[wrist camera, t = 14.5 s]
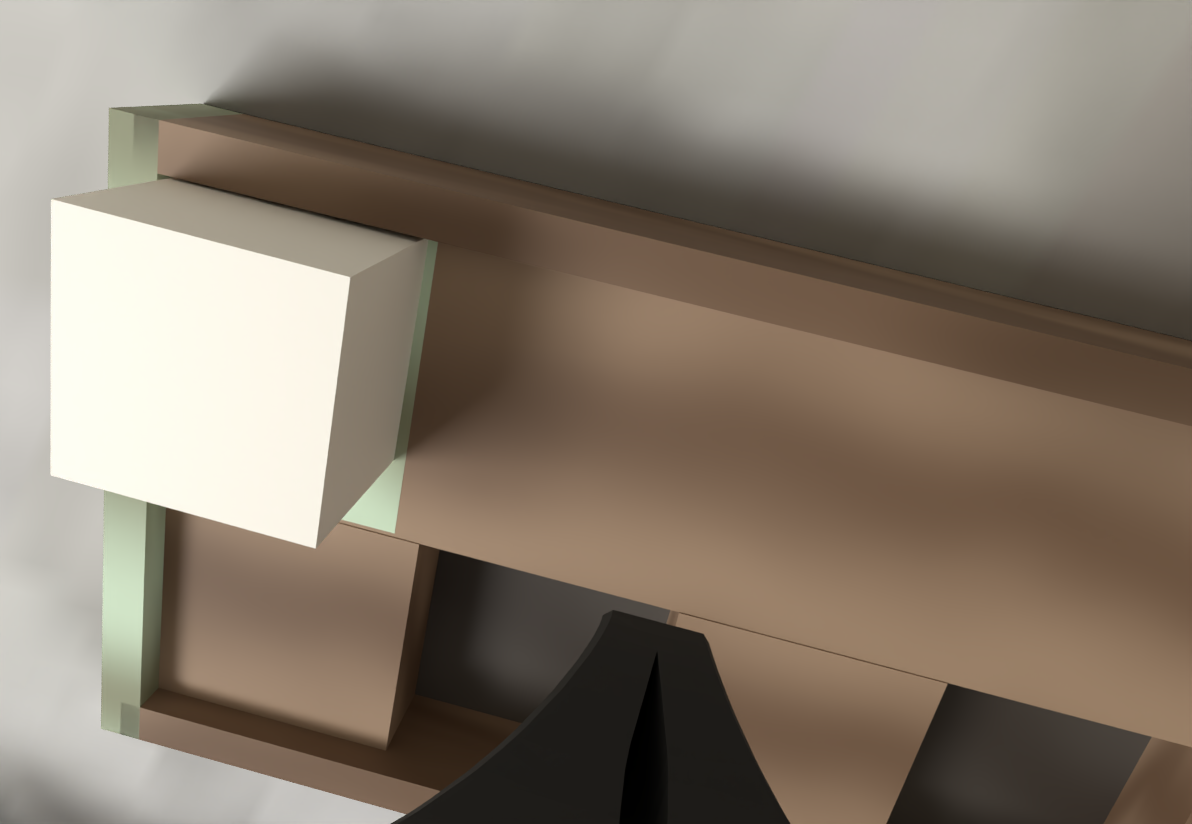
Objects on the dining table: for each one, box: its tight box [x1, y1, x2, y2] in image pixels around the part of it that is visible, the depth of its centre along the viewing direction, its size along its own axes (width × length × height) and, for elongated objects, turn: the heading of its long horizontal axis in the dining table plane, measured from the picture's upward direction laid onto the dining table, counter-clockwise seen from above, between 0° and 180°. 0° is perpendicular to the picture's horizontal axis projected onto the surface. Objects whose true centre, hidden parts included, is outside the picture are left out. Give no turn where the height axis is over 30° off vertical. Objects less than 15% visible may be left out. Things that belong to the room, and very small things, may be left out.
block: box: [51, 177, 429, 549], centre depth 17 cm, size 5×5×4 cm
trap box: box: [101, 104, 1192, 824], centre depth 20 cm, size 15×34×3 cm, turn 78°
